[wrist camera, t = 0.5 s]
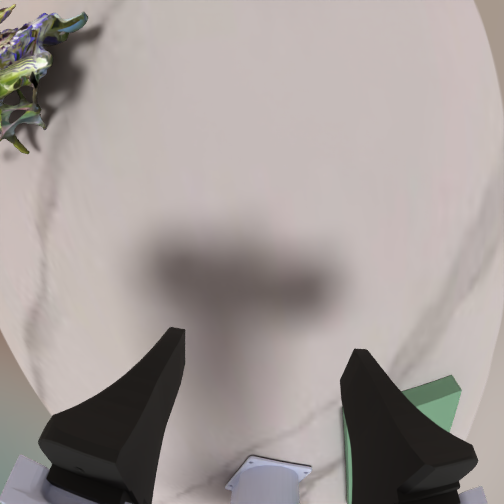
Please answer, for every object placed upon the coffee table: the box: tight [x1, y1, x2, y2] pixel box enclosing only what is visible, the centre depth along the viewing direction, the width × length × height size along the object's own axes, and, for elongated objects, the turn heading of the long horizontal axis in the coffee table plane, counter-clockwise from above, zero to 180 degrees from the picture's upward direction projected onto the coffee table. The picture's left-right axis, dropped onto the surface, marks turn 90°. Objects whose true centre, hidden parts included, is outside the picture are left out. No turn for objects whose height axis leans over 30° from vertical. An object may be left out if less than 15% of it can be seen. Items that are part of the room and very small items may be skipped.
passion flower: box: [0, 4, 88, 154], centre depth 16 cm, size 11×11×12 cm
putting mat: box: [342, 375, 462, 504], centre depth 29 cm, size 24×12×2 cm, turn 13°
